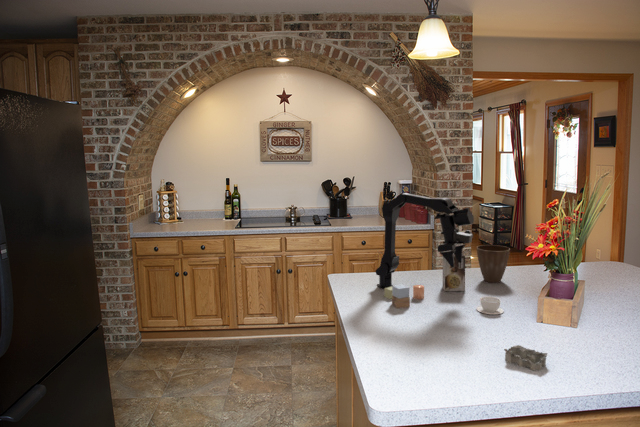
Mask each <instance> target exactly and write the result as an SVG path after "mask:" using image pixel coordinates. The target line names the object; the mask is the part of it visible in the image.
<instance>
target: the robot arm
mask: <svg viewBox="0 0 640 427" xmlns="http://www.w3.org/2000/svg"><path fill="white" fill-rule="evenodd" d="M406 203H407V204H411V205H416V206H419V207H420V206H422V207H427V208H429V209H431V210H433V211H435V212H437V213H436V215H435V217H434V220H439V223H440V227H441V231H440V234H441V235H442V236H443V241H442V243H441V244H439V245H438V246H437V247H436V248H437V252H438V253H439V254H440V255H442V258H443V257H444V258H445V259H446V260H447V262H448V263H449V264H450V266H451V267H454V255H455V256H456V258H457V260H458V262H459V263H461V262H462V253H463V250H464V248H465V246H466V245H467V244H470V243H472V240H473V238H474V235H473V233H472V231H471V230H468V229H467V230H465V231H460V229H459V228H457V226H458V227H463V226H469V225H473V224H474V223H475V217H474V214H473V212H472V211H471V209H470V207H466V208H462V209H459V207H457V206H456V205H455V204H454V203H453V200H452V199H451V198H449V197H429V196H424V195H417V194H413V193H408V192H402V193H400V194H399V195H398V196H397V195H396V197H395V198H393V199H392V200H390V201H389V202H385V203H384V204H382V206H381V215H382V217H383V220H384V246H383V247H384V248H383V251H384V253H383V255H382V256H381V259H380V265H379V267H377V268H376V269H375V273H376V274H375V275H376V276H378V278H379V279H378V281H379V282H378V283H377V284H376V286H377V287H378V288H379V289H381V290H382V289H384V288H387V287H392V286H394V285H393V284H392V283H393V279H392V277H393V276H392V275H393V273H395V271H396V270H397V268H399V265H400V255H397V254H396V233H397V232H396V229H397V228H396V227H397V225H396V224H397V220H398V218H399V216H400V213H401V212H400V211H401V208H403V206H405V204H406ZM456 225H457V226H456ZM453 254H454V255H453Z"/></svg>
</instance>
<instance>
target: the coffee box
mask: <svg viewBox="0 0 640 427" xmlns="http://www.w3.org/2000/svg"><path fill="white" fill-rule="evenodd" d="M453 255H454V254H453ZM442 289H443V291H444V292H465V291H466V255H465V254H464V253H463V252H462V262H461V263H459V262H458V260H457V258H456V256H455V255H454V267H451V266H450V264H449V263H448V262H447V260H446V259H445V258H444V257H443V256H442Z"/></svg>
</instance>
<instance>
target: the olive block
mask: <svg viewBox="0 0 640 427" xmlns="http://www.w3.org/2000/svg"><path fill="white" fill-rule="evenodd" d="M383 294H384V296H383V297H384V298H386V299H388V300H392V287H387V288H384V293H383Z"/></svg>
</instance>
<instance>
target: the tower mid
mask: <svg viewBox="0 0 640 427" xmlns="http://www.w3.org/2000/svg"><path fill="white" fill-rule="evenodd" d="M392 295H393V296H395V297H397V298H398V299H400V298H406V297H410V287H409V286H407V285H405V284H403V283H402V284H396V285H393V286H392Z"/></svg>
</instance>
